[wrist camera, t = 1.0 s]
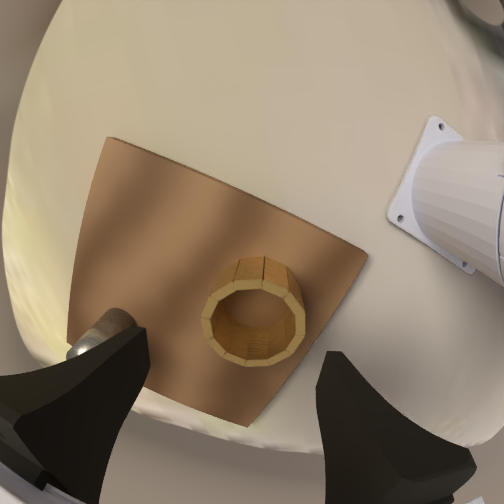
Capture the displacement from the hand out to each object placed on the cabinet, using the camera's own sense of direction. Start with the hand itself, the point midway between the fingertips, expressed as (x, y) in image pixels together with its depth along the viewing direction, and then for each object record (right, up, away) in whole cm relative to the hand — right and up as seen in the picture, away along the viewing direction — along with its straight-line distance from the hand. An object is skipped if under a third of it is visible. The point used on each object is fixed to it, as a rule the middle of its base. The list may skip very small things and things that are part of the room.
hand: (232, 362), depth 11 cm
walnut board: (-4, 0, +9) cm, 10 cm away
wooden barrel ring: (+1, +1, +7) cm, 8 cm away
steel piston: (-9, -1, +10) cm, 13 cm away
